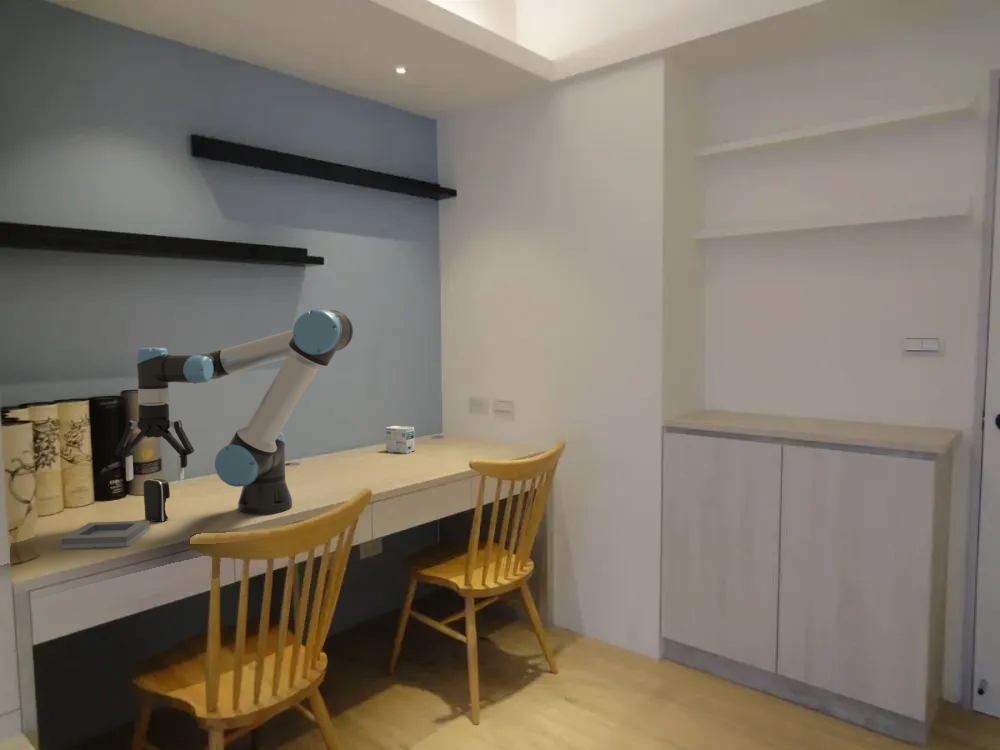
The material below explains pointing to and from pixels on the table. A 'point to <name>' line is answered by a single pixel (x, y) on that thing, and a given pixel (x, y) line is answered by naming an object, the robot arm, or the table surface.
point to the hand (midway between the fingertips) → (155, 479)
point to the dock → (106, 534)
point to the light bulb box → (400, 439)
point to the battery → (156, 499)
